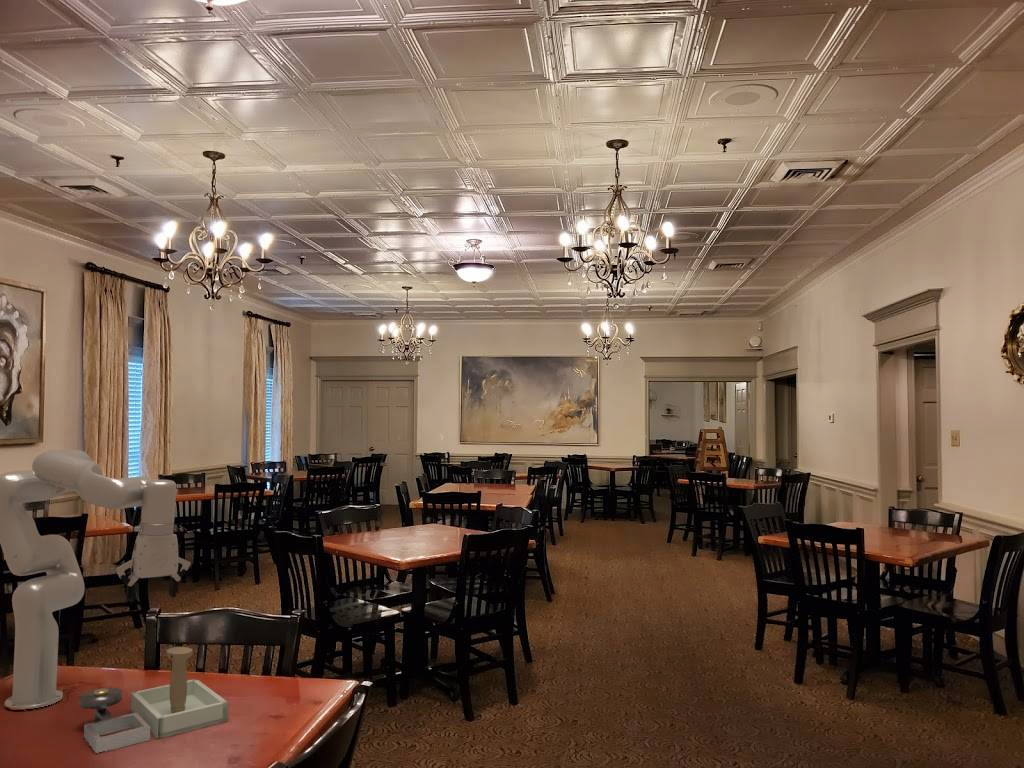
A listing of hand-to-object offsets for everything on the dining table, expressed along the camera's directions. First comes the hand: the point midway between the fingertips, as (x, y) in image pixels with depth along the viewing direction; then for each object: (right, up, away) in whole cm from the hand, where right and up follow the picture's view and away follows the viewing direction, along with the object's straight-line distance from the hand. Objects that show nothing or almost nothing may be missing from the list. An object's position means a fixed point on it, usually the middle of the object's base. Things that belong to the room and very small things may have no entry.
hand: (151, 598), depth 185 cm
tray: (+7, -28, -2) cm, 29 cm away
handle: (+7, -28, -2) cm, 29 cm away
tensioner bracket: (-4, -28, -12) cm, 30 cm away
